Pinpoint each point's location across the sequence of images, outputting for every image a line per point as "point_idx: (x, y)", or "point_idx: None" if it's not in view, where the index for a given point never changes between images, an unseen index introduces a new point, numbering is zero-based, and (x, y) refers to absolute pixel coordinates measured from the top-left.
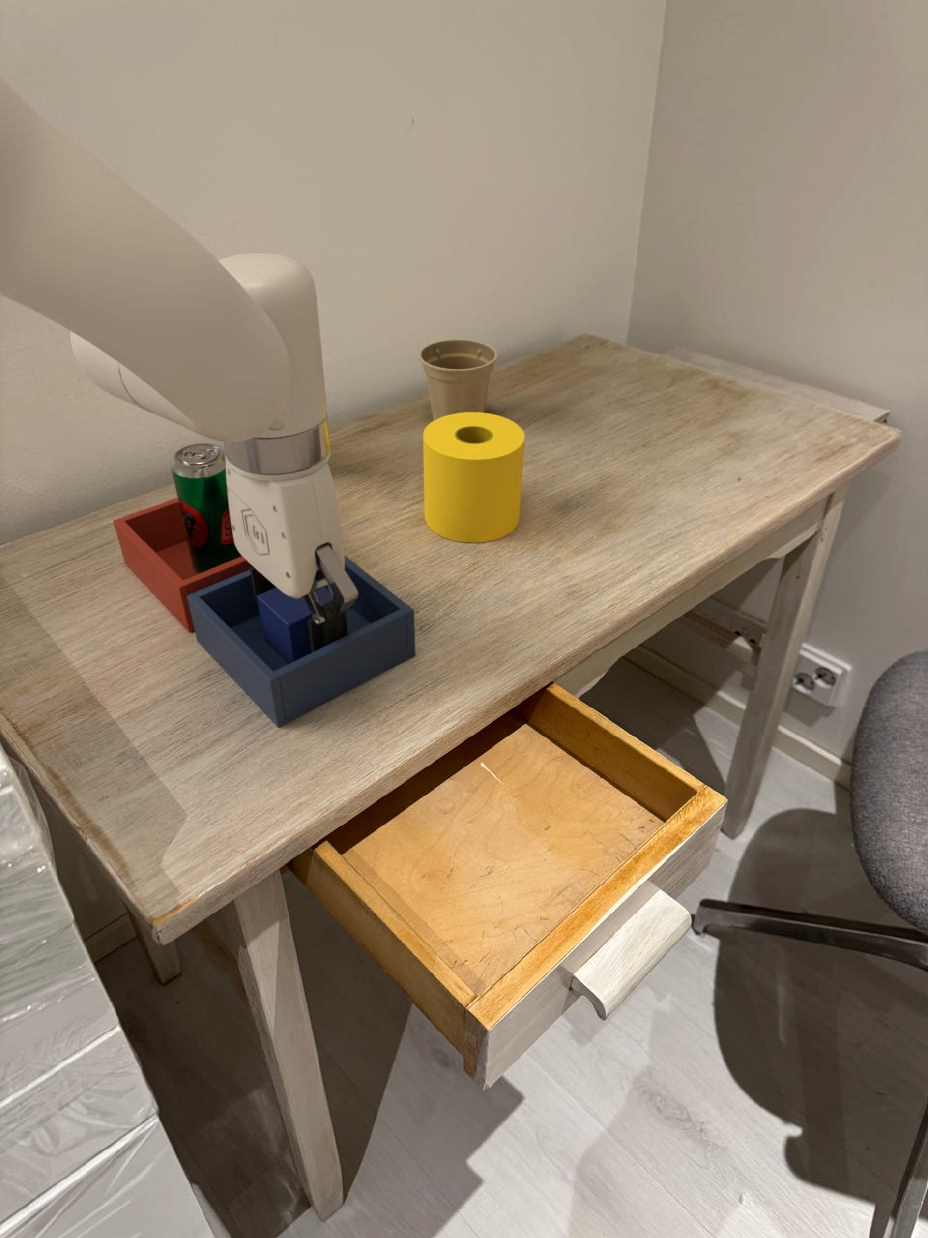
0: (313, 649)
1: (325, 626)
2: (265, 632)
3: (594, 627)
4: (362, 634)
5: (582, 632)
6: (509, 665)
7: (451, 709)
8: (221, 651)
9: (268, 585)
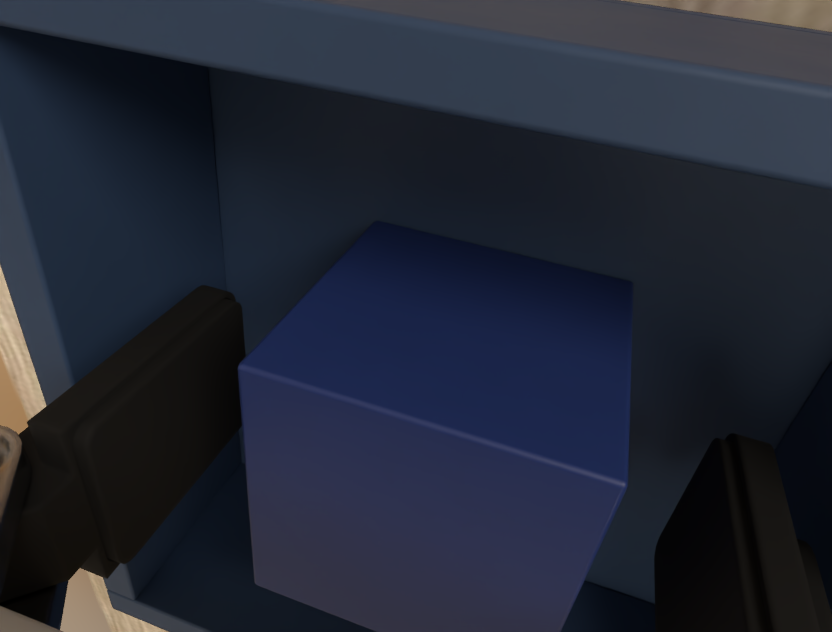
0: (175, 312)
1: (23, 434)
2: (600, 311)
3: (116, 629)
4: None
5: (115, 615)
6: None
7: (27, 352)
8: (672, 25)
9: (703, 574)
